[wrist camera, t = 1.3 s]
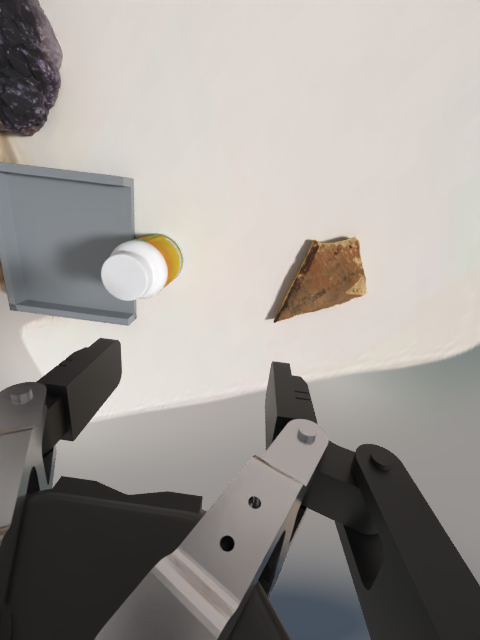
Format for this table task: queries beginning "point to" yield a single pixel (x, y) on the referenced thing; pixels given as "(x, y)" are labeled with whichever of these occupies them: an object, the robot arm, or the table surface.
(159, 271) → the supplement bottle
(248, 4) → the table surface
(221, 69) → the table surface
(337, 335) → the table surface
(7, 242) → the tray
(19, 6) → the crystal cluster
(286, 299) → the shard
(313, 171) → the table surface
